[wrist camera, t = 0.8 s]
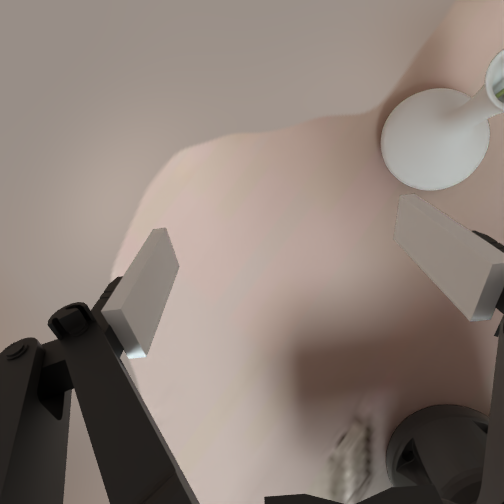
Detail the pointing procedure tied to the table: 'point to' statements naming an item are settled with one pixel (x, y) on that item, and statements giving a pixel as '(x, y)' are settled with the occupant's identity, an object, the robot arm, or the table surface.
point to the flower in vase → (442, 132)
